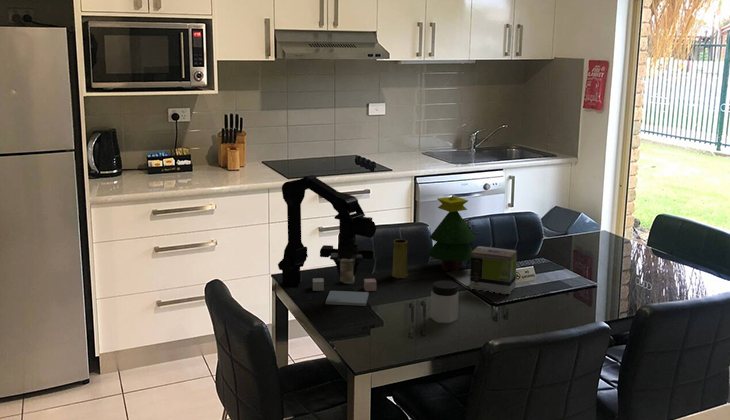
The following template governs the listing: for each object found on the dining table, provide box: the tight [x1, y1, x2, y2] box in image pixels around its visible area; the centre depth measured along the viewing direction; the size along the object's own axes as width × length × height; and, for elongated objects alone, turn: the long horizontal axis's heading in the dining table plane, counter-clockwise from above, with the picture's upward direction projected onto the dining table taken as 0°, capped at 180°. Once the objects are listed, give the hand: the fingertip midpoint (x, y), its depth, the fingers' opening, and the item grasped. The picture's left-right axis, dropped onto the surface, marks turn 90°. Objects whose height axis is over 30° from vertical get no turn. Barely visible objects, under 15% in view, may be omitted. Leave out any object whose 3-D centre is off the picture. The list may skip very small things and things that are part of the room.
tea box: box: [469, 245, 518, 295], centre depth 272 cm, size 15×10×15 cm
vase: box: [391, 238, 409, 279], centre depth 286 cm, size 6×6×14 cm
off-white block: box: [312, 277, 325, 292], centre depth 272 cm, size 4×4×4 cm
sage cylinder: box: [342, 279, 355, 285], centre depth 280 cm, size 4×4×4 cm
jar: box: [429, 280, 459, 324], centre depth 244 cm, size 9×8×12 cm
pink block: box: [363, 278, 377, 292], centre depth 272 cm, size 4×4×4 cm
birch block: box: [339, 258, 355, 283], centre depth 259 cm, size 4×4×7 cm
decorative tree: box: [427, 195, 477, 272], centre depth 293 cm, size 19×19×30 cm
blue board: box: [325, 290, 370, 307], centre depth 262 cm, size 14×11×1 cm
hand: (347, 275), depth 260 cm, fingers closed on birch block, 4 cm apart
